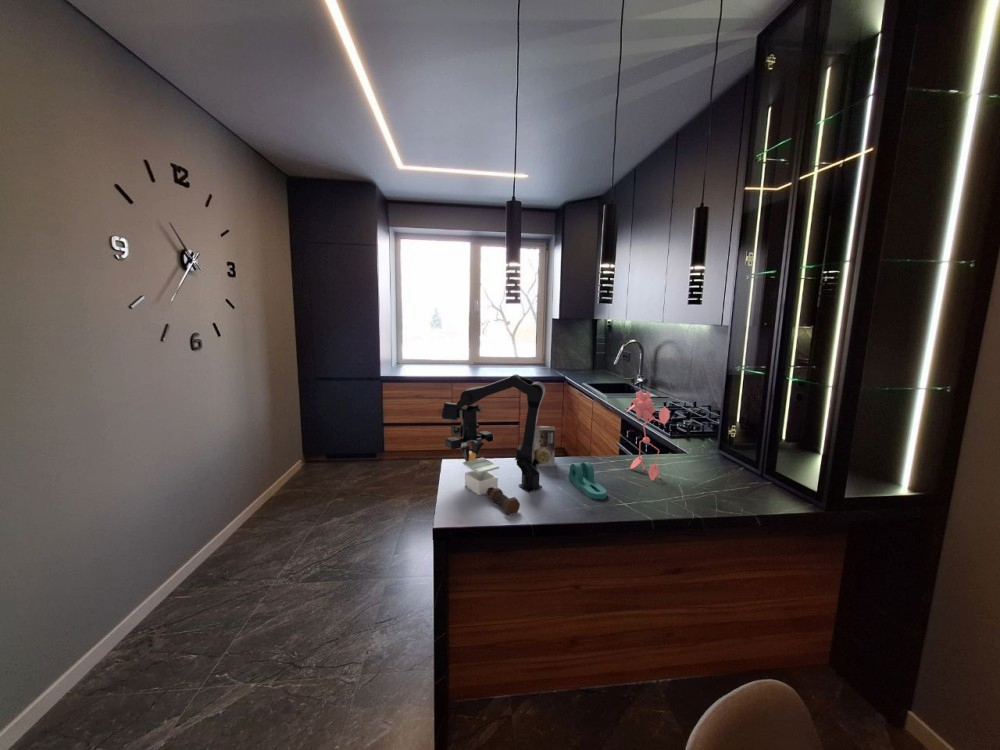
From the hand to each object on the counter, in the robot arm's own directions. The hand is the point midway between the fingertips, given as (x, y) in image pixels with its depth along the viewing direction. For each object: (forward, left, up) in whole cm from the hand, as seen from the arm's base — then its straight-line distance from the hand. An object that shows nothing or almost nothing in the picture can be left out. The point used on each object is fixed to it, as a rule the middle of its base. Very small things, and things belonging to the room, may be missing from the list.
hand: (469, 461), depth 150 cm
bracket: (-31, -33, -8) cm, 46 cm away
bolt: (-23, +1, -8) cm, 24 cm away
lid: (-6, 0, +1) cm, 6 cm away
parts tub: (-8, 0, -8) cm, 11 cm away
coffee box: (-3, -36, -8) cm, 37 cm away
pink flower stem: (-34, -58, -8) cm, 68 cm away
